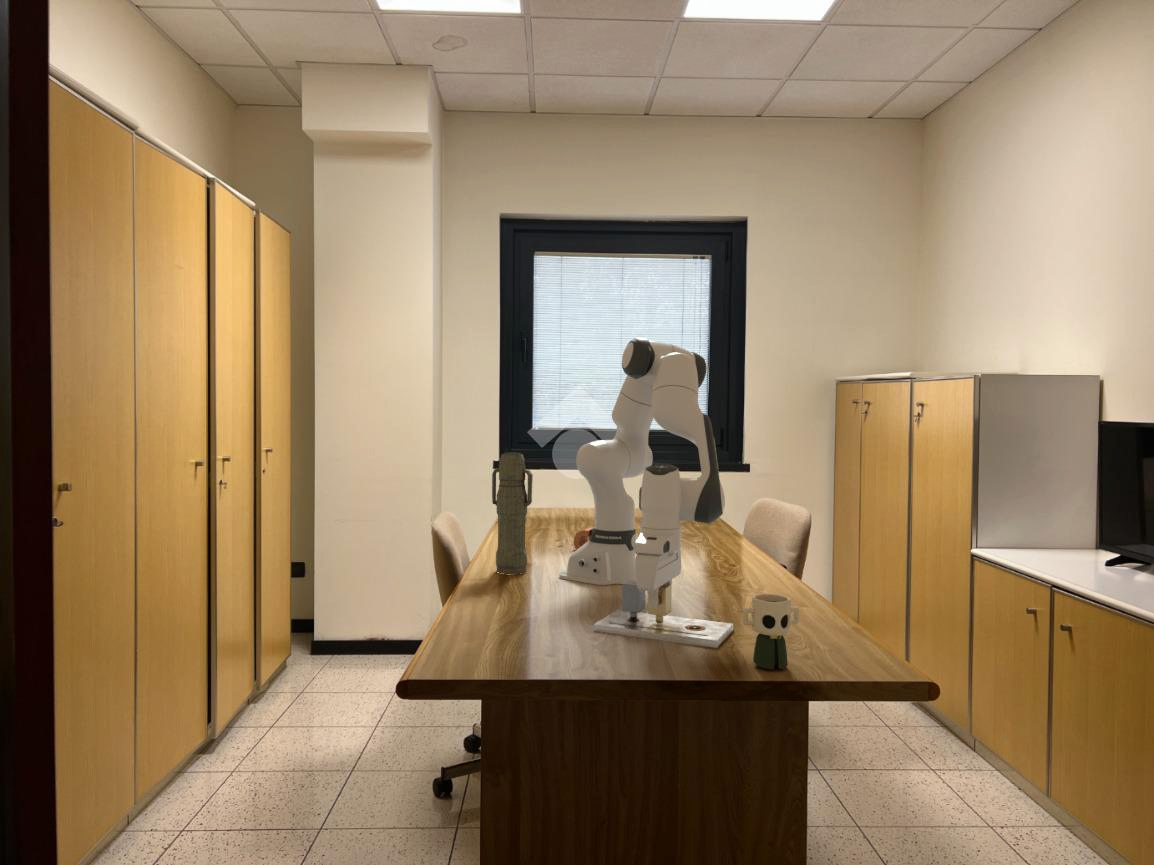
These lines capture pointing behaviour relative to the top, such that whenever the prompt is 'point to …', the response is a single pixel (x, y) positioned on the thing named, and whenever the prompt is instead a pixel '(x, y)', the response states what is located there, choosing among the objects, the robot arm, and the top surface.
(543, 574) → the top surface
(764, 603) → the character mug
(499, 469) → the brown tall vase
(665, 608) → the wooden block peg
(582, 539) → the crank
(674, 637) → the bolt plate
